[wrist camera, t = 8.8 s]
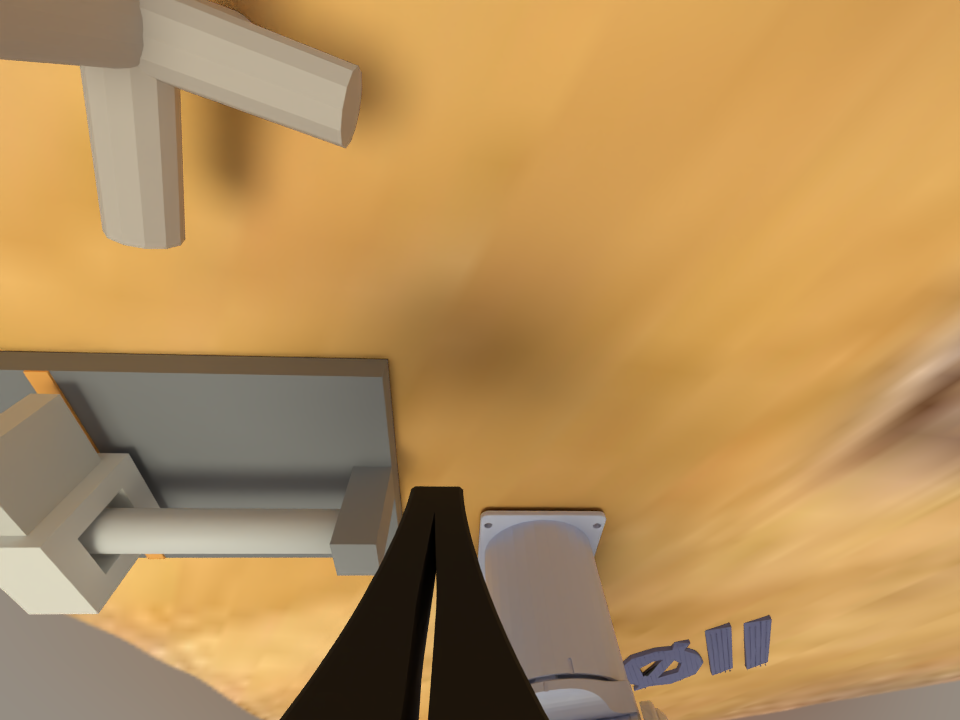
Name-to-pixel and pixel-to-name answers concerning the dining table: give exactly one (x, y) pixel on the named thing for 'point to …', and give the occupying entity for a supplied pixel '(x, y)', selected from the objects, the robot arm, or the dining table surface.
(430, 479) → the dining table surface
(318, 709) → the robot arm
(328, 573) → the dining table surface
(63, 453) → the collar
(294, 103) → the pipe connector
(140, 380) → the pipe board
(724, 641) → the signage
